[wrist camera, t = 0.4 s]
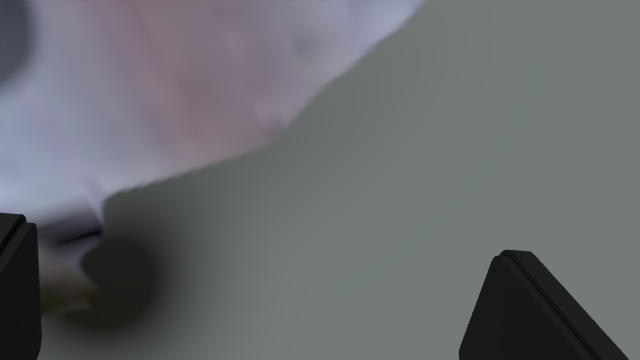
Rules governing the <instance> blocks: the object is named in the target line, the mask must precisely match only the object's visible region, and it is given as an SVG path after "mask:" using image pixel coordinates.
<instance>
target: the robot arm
mask: <svg viewBox="0 0 640 360" xmlns="http://www.w3.org/2000/svg"><path fill="white" fill-rule="evenodd" d="M41 340H42V330H41V307H40V285H39V262H38V240H37V227H36V224H35V223H27V221H26V218H25V216H24V215H23V214H9V213H0V360H37V357H38V355H39V351H40V347H41ZM459 360H629V359H628V358H627V357H626V356H625V354H624V353H623V352H622V351H621V350H620V349H619V348H618V347H617V346H616V345H615V343H614V342H613V341H612V340H611V339H610V338H609V337H608V336H607V335H606V333H605V332H604V331H603V330H602V329H601V328H600V327H599V326H598V325H597V323H596V322H595V321H594V320H593V319H592V318H591V317H590V316H589V315H588V314H587V312H586V311H585V310H584V309H583V308H582V307H581V306H580V305H579V304H578V302H577V301H576V300H575V299H574V298H573V297H572V296H571V295H570V294H569V293H568V291H567V290H566V289H565V288H564V287H563V286H562V285H561V284H560V283H559V281H558V280H557V279H556V278H555V277H554V276H553V275H552V274H551V273H550V272H549V271H548V269H547V268H546V267H545V266H544V265H543V264H542V263H541V262H540V260H539V259H538V258H537V257H536V256H535V255H534V254H533V253H532V252H529V251H517V250H504V251H502V252H501V253H500V255H499V256H495V257H494V258H493V260H492V262H491V265H490V267H489V270H488V273H487V276H486V278H485V281H484V284H483V286H482V289H481V292H480V294H479V297H478V300H477V303H476V305H475V308H474V311H473V313H472V316H471V319H470V321H469V324H468V327H467V330H466V332H465V335H464V338H463V341H462V343H461V346H460V349H459Z"/></svg>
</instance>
